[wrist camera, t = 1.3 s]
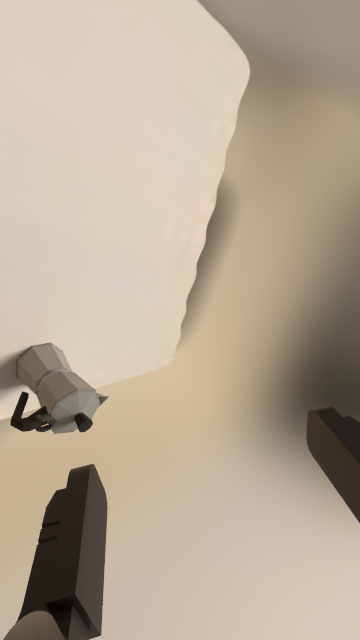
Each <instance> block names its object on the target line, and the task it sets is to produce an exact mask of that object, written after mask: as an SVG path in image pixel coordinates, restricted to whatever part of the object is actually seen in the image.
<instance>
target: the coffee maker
mask: <svg viewBox="0 0 360 640" xmlns="http://www.w3.org/2000/svg"><path fill="white" fill-rule="evenodd" d="M17 377H18V378H19V379H20V380H21V381H22V382H23V383H24V384H26V385H27V386H28V387H29V388H30V389H31V390H32V391H33V392H34V393H35V394H36V395H37V397H38V400H39V403H40V405H41V409H39V410H38V411H36V412H35V413H33V414H32V415H30V416H29V417H27V418H23V419H22V418H21V416H22V413H23V411H24V408H25V405H26V403H27V400H28V393H26V392H22V393H21V396H20V398H19V401H18V404H17V406H16V409H15V411H14V414H13V416H12V419H11V426H13V427H15V428H17V429H19V430H21V431H31V430H33V429H36V431H39V432H45V431H48V430H50V429H52V431H53V432H54V434H57V433H67V432H74V431H75V430H76V429H79V431H80V432H85V431H87V430H88V429H90V427H91V426H92V424H93V423H92V420H91V419H92V417H93V415H94V413H95V411H96V409H97V408H98V407H99V406H100V405H101V404H102V403H103V402H104V401H105V400H106V399H107V398H108V396H103V395H100V394H98V393H96V390H95V389H94V388H92V387H91V386H90V385H89V384H87V383H86V382H85V381H84V380H83V379H81V378H80V377H79V376H78V375H77V374H75V373H73V372H72V370H71V368H70V366H69V364H68V362H67V360H66V358H65V356H64V354H63V351H61V350H60V349H59V348H57V347H56V346H54V345H53V344H52V343H47V344H42V345H36V346H31V347H30V348H29V349H28V350H27V351H26V352H25V353H24V354H23V355H22V356H21V357H20V358H19V359H18V360H17ZM47 423H48V424H49V425H46V426H43V425H45V424H47ZM41 426H43V427H41Z"/></svg>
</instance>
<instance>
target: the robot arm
mask: <svg viewBox="0 0 360 640" xmlns="http://www.w3.org/2000/svg"><path fill="white" fill-rule="evenodd" d="M307 444H308V447H309V450H310V452H311V454H312V456H313V457H314V459H315V460H316V461H317V463H318V464H319V466H320V467H321V468H322V470H323V471H324V473H325V474H326V476H327V477H328V478H329V480H330V481H331V483H332V484H333V486H334V487H335V488H336V490H337V491H338V493H339V494H340V496H341V497H342V498H343V500H344V501H345V503H346V504H347V506H348V507H349V508H350V510H351V511H352V513H353V514H354V515H355V517H356V518H357V520H358V521H359V522H360V422H358V421H356V420H355V419H353V418H351V417H349V416H347V417H344V418H343V417H342V416H341V415H340V414H339V413H338V412H337V411H336V410H335V409H334V408H333V407H332V406H330V405H327V406H324V407H320V408H316V409H312V410H309V412H308V422H307ZM106 525H107V498H106V494H105V490H104V487H103V485H102V482H101V480H100V477H99V475H98V472H97V470H96V468H95V466H94V464H90V465H86V466H82V467H79V468H75V469H71V471H70V473H69V476H68V481H67V487H66V488H65V489H61V490H57V491H56V492H55V494H54V495H53V497H52V499H51V500H50V502H49V504H48V505H47V507H46V511H45V515H44V519H43V523H42V529H41V531H40V536H39V540H38V542H39V544H38V545H37V548H36V553H35V556H34V561H33V565H32V569H31V573H30V577H29V581H28V585H27V590H26V594H25V598H24V603H23V606H22V609H21V613H20V615H19V618H18V620H17V622H16V624H15V625H14V626H13V627H12V628H11V629H10V631H9V632H8V634H7V635H6V636H5V638H4V640H89V639H91V638H94V637H97V636H101V625H102V606H103V586H104V585H103V584H104V565H105V545H106Z"/></svg>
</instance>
